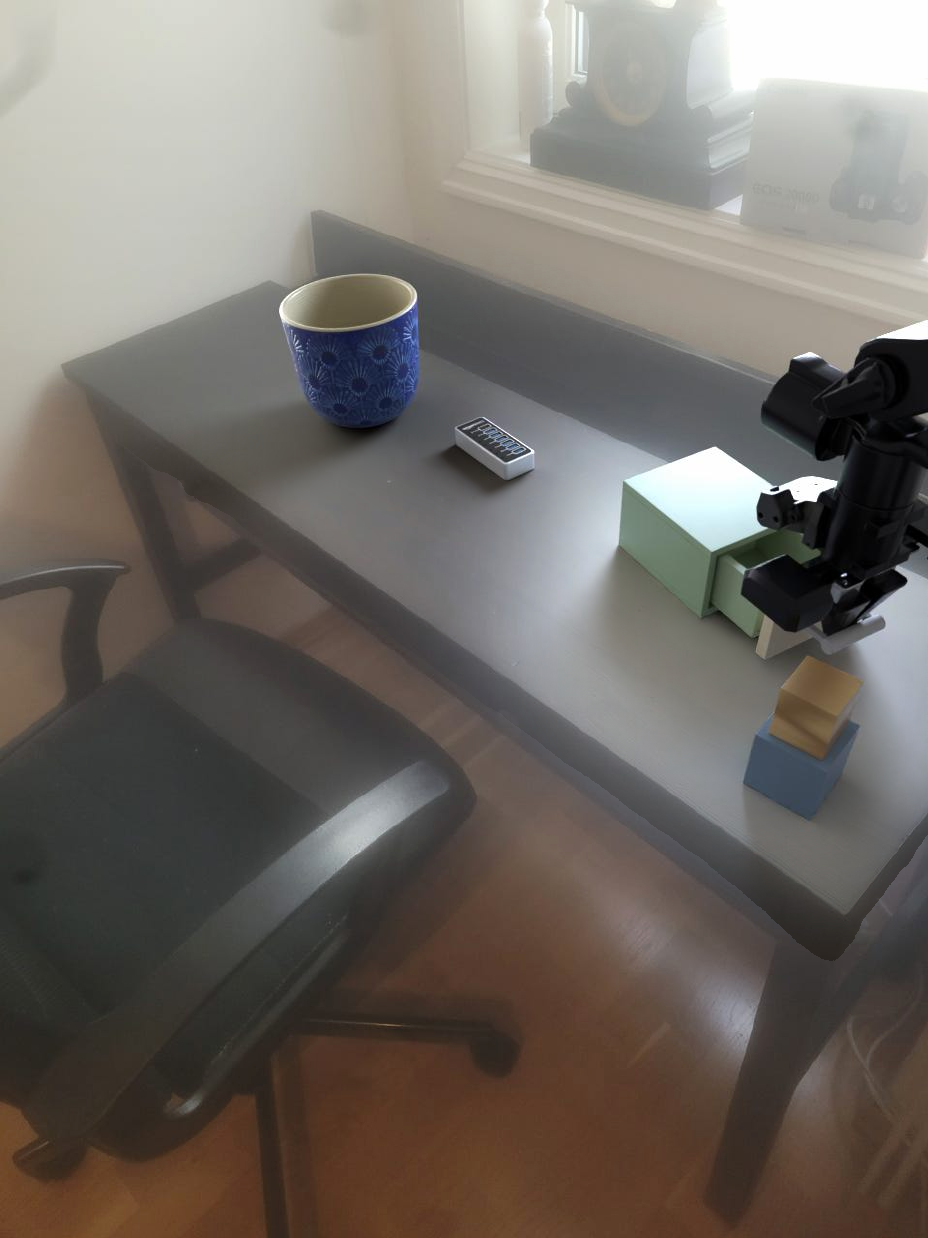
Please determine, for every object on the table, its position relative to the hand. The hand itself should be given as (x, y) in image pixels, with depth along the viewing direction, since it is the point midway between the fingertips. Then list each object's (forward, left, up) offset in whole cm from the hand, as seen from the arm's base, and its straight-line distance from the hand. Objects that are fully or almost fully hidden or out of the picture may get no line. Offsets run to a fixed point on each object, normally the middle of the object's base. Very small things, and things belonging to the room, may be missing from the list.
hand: (830, 636), depth 76 cm
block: (+9, +11, +3) cm, 15 cm away
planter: (+35, -58, -3) cm, 68 cm away
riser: (+9, +11, -3) cm, 15 cm away
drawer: (+2, -6, -2) cm, 6 cm away
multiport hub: (+21, -42, -3) cm, 47 cm away
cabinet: (+5, -16, -3) cm, 17 cm away
